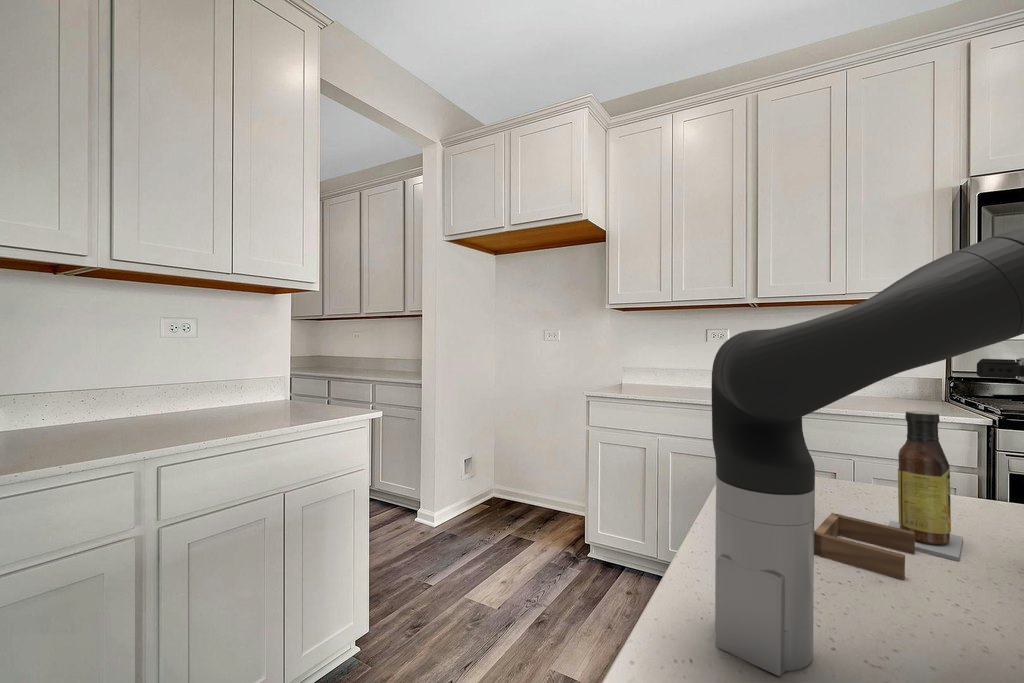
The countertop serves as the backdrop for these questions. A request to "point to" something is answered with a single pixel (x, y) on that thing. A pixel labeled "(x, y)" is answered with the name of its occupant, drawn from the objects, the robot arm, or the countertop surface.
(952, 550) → the felt mat
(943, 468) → the sauce bottle
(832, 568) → the countertop surface
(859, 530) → the walnut cradle
